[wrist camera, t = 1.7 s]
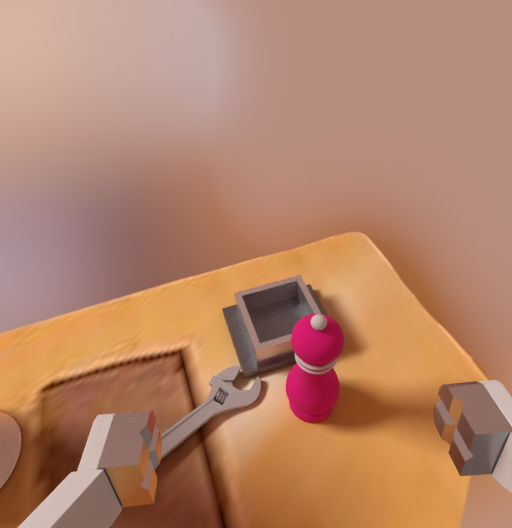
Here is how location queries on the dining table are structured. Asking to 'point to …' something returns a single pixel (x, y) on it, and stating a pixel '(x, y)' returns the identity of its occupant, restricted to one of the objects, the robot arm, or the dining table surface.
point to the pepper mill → (314, 367)
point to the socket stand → (269, 323)
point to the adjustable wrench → (211, 408)
